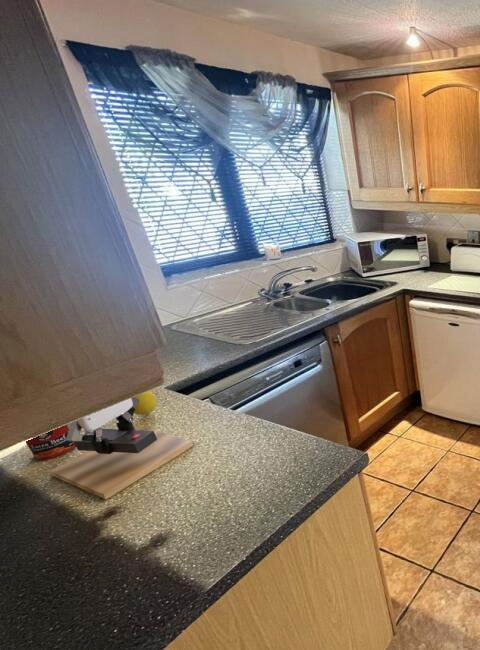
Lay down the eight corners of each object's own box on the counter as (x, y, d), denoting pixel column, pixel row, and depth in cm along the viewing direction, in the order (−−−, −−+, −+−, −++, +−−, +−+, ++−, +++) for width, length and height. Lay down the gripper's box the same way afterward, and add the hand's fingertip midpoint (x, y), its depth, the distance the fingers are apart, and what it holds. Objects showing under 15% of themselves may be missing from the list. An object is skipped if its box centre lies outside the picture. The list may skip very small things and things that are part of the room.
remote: (77, 450, 87) (72, 440, 86) (99, 437, 91) (94, 427, 90) (138, 453, 86) (133, 443, 85) (157, 439, 90) (153, 429, 89)
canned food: (30, 465, 89) (7, 426, 85) (39, 447, 95) (18, 410, 91) (78, 450, 94) (58, 412, 90) (83, 433, 99) (65, 398, 95)
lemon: (161, 406, 110) (151, 382, 107) (160, 415, 106) (150, 390, 103) (135, 414, 107) (124, 389, 104) (133, 423, 103) (122, 398, 100)
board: (52, 475, 86) (49, 470, 85) (142, 429, 101) (140, 424, 100) (106, 499, 79) (103, 494, 79) (193, 445, 94) (191, 441, 94)
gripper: (110, 357, 90) (139, 421, 97) (19, 398, 74) (60, 471, 81) (140, 357, 89) (166, 422, 96) (54, 399, 74) (93, 473, 80)
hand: (118, 444), depth 88 cm, fingers closed on remote, 4 cm apart
